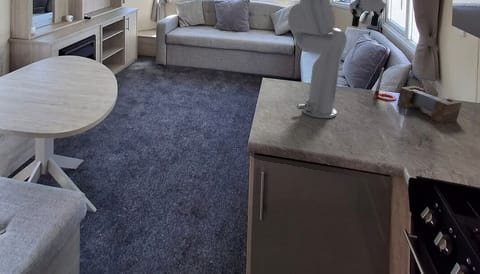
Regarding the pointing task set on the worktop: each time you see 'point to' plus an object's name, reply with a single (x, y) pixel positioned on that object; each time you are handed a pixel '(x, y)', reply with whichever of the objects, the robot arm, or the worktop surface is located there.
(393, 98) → the tow hook
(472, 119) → the worktop surface
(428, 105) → the rail
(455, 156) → the worktop surface
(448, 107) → the posts
